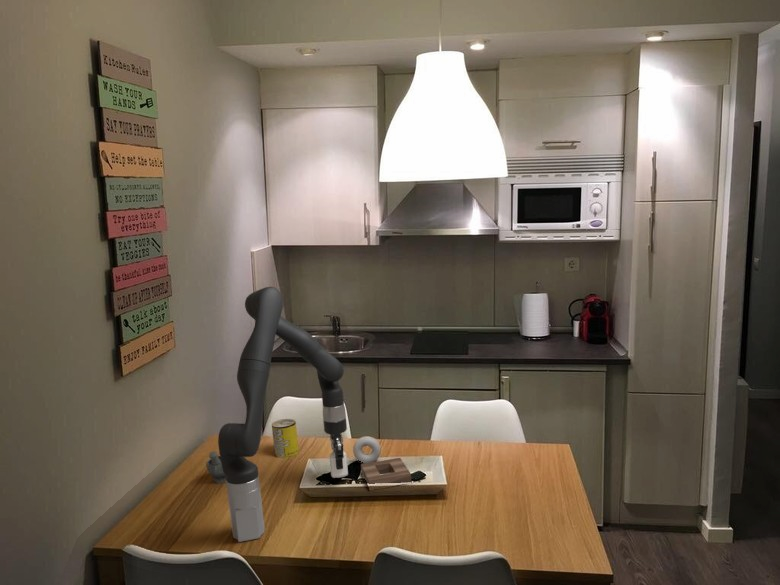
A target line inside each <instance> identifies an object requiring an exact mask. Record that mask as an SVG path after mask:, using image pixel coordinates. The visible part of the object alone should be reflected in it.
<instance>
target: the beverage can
mask: <svg viewBox="0 0 780 585" xmlns="http://www.w3.org/2000/svg"><path fill="white" fill-rule="evenodd" d="M271 429H272V431H271V432H272V440H273V447H274V448H273V449H274V457H276V458H278V459H279V458H280V459H286V458H287V459H288V458H292V457H295V456H297V455H298V454H299V452H300V450H299V440H298V432H297V421H296V419H294V418H293V419H292V418H283V419H278V420H275V421H273V422H272V423H271Z"/></svg>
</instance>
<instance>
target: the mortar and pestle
mask: <svg viewBox="0 0 780 585" xmlns="http://www.w3.org/2000/svg"><path fill="white" fill-rule="evenodd" d="M208 457H209V459H207V461H206V462H205V467H206V469H207V471H208V473H209V474H210V476H211V477H212V478H213V481H214V482H213V483H215V484H216V483H217V484H222V482H223V483H226V477H225V474H224V472H223V469H222V463H221V458H220V455H218V453H217V451H214V450H213V451H211V452H209V455H208Z"/></svg>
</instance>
